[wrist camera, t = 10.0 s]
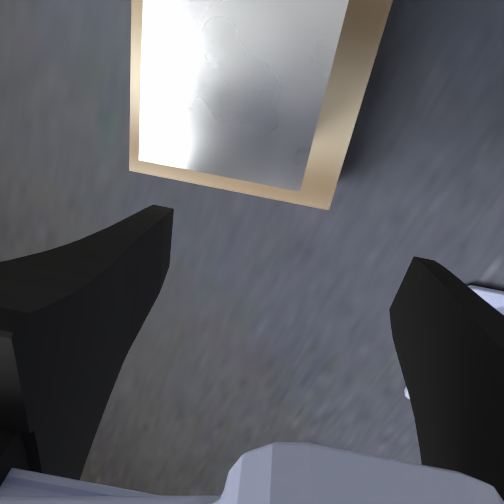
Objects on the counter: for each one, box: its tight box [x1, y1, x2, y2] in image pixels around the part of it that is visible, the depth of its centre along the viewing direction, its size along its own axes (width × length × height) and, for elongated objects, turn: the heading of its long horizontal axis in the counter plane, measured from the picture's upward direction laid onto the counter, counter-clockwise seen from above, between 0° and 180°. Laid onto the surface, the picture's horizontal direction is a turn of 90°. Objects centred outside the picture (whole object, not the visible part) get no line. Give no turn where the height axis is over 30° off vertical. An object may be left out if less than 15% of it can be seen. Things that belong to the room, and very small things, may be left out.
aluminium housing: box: [139, 0, 349, 192], centre depth 12 cm, size 9×5×5 cm, turn 170°
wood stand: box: [129, 0, 393, 210], centre depth 16 cm, size 14×9×3 cm, turn 170°
